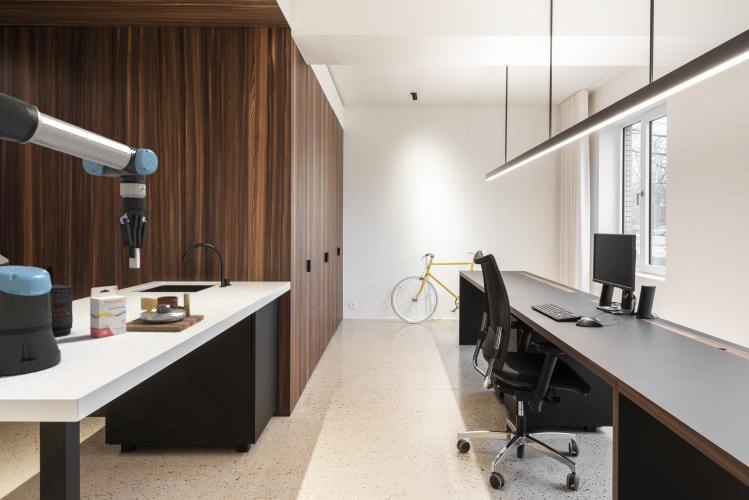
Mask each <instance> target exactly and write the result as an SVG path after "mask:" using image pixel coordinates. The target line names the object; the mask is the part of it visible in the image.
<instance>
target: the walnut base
mask: <svg viewBox="0 0 749 500" xmlns="http://www.w3.org/2000/svg"><path fill="white" fill-rule="evenodd" d="M190 296H191V295H190V293H189V292H188V293H187V292H186V293H183V307H184V310H185V311H186V318H184V319H181V320H177V321H170V322H143V321H141V317H138V318H135V319H133V320H131V321H128V322H126V332H173V333H174V332H175V333H176V332H179V333H180V332H182V331H184V330H187V329H188V328H190V327H192V326H195V325H196V324H197V323H199V322H201V321H203V320H205V314H191V305H190V304H191V301H190V300H191V299H190Z"/></svg>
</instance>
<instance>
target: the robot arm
mask: <svg viewBox="0 0 749 500" xmlns="http://www.w3.org/2000/svg"><path fill="white" fill-rule="evenodd" d="M0 140H6V141H10V142H14V143H18V144H21V145H23V144H27V143H33V144H36V145H39V146H42V147H44V148H45V147H46V148H49V149H52V150H55V151H59V152H61V153H65V154H66V155H69V156H74V157H77V158H80V159H82V166H83V169H84V171H85V172H87V173H88V174H89V175H94V176H97V177H99V176H101V177H102V176H103V177H110V178H111V177H112V178H119V185H120V187H119V194H120V196H121V197H120V208H121V209H123V212H122V216H121V217H117V222H118V225H119V227H120V231H121V232H120V233H121V239H122V242H123V243H122V244H123V247H124V248H125V249H128V258H129V262H128V264H129V269H140V268H141V266H140V265H141V258H140V257H141V249H143V248H144V246H145V244H146V243H145V242H146V237H147V229H148V224H149V221H150V220H149V218H147V217H145V214H144V210H146V209H147V199H146V198H145V197H146V196H147V193H146V191H147V190H146V189H147V188H146V185H147V183H146V181H147V179H146V178H147V176H146V175H151V174H154V173H155V172H156V170H157V168H158V165H159V163H158V162H159V160H158V157H157V155H156V154H155V152H154V151H153V150H151V149H149V148H135V147H132V146H130V145H126V144H123V143H121V142H118V141H115V140H113V139H110V138H107V137H105V136H103V135H100V134H97V133H95V132H92V131H89V130H87V129H84V128H82V127H80V126H77V125H74V124H71V123H68V122H66V121H64V120H61V119H59V118H56V117H53V116H51V115H48V114H45V113H43V112H40V111H39V109H38V107H37V106H36V105H34V104H31V103H29V102H27V101H23V100H21V99H19V98H16V97H13V96H11V95H8V94H5V93H3V92H0ZM52 285H53V284H52V281H51V275H50V273H49V271H47V270H46V269H43V268H41V267H35V266H24V265H10V261H9V258H6V257H5V256H3V255H1V254H0V376H11V375H14V376H15V375H21V374H27V373H33V372H37V371H42V370H45V369H48V368H52V367H53V366H54V367H55V366H56V365H58V364H60V363H61V362H62V352H61V349H60V348H59V346H58V343H57V340H56V337H54V335H53V333H52V327H51V288H52Z"/></svg>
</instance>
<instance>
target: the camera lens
mask: <svg viewBox="0 0 749 500" xmlns="http://www.w3.org/2000/svg"><path fill="white" fill-rule="evenodd" d="M51 285H52V288H51V327H52V333H53V335H54V337H55V338H58V337H64V336H65V337H66V336H68V335H70V334H71V333H72V331H71V330H72V329H73V322H74V321H73V320H74V318H73V302H74V295H73V294H74V291H73V286H72V285H69V284H67V285H66V284H51Z"/></svg>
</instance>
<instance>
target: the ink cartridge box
mask: <svg viewBox="0 0 749 500" xmlns="http://www.w3.org/2000/svg"><path fill="white" fill-rule="evenodd" d="M104 290H105V292H103V291H104ZM106 291H107V292H106ZM89 299H90V301H89V312H90V313H89V319H90V320H89V321H90V322H89V323H90V325H89V326H90V327H89V329H90V331H89V333H90V334H89V335H90V337H94V338H98V339H101V338H107V337H111V336H112V337H113V336H117V335H122V334H123V335H124V334H126V333H127V331H126V323H127V296H126V295H118V285H109V286H99V287H92V288H91V289H90V297H89Z"/></svg>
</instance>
